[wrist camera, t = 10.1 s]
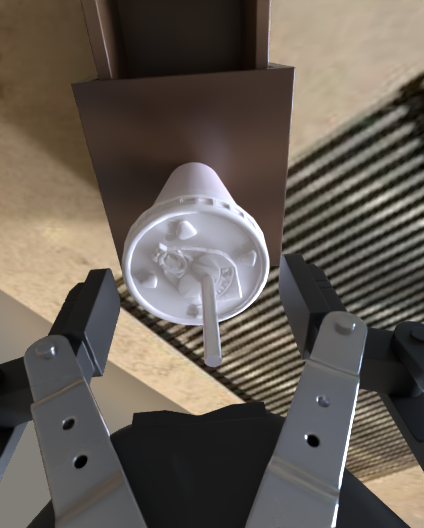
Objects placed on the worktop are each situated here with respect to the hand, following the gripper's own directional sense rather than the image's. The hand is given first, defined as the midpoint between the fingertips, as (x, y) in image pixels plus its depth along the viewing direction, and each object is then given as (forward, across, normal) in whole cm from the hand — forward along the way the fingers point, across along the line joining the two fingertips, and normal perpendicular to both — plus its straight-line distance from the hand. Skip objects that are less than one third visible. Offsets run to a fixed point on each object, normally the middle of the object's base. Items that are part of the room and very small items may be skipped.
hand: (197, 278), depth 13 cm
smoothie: (+10, 0, 0) cm, 10 cm away
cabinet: (+20, 0, 0) cm, 20 cm away
